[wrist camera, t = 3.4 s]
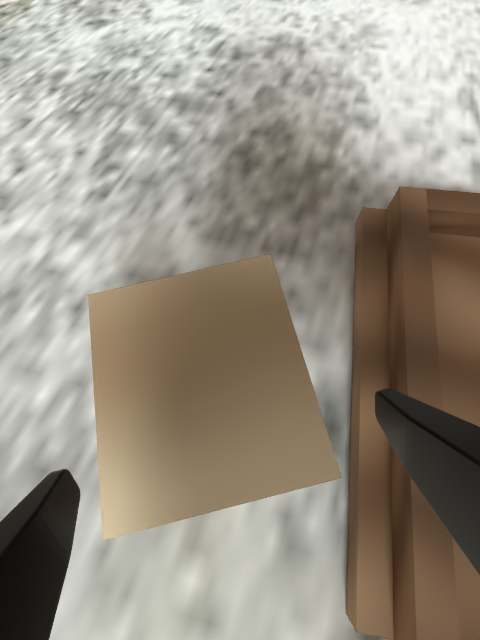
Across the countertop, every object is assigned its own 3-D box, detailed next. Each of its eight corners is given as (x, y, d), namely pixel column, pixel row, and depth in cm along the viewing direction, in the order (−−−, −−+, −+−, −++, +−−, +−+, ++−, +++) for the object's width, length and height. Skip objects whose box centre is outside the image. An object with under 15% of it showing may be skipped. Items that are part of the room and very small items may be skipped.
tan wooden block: (280, 453, 17) (341, 477, 5) (208, 471, 17) (103, 541, 5) (259, 372, 18) (270, 253, 7) (193, 388, 18) (87, 294, 7)
